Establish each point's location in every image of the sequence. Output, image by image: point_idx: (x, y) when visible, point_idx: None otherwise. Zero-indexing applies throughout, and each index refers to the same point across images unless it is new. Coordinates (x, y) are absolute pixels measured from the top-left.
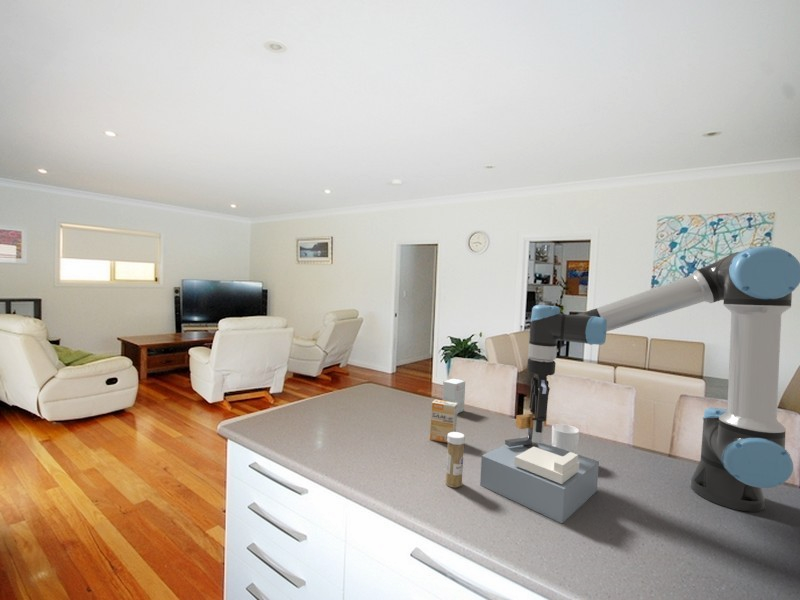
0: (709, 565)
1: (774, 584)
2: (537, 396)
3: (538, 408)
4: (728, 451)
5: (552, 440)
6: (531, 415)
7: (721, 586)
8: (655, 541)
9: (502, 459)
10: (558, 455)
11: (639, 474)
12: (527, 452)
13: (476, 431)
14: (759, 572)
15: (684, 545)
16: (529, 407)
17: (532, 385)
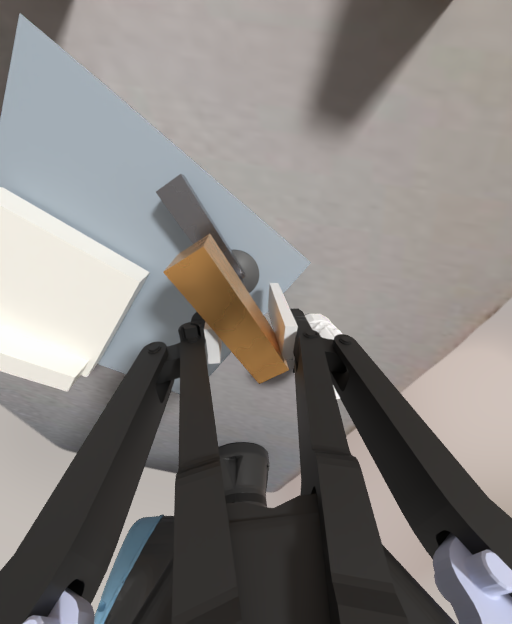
0: (63, 415)
1: (67, 444)
2: (180, 470)
3: (112, 403)
4: (115, 577)
5: (326, 333)
6: (232, 328)
7: (24, 413)
8: (81, 386)
9: (48, 143)
10: (104, 340)
11: (273, 410)
12: (62, 251)
13: (505, 121)
14: (82, 441)
15: (93, 407)
16: (347, 335)
17: (339, 545)
